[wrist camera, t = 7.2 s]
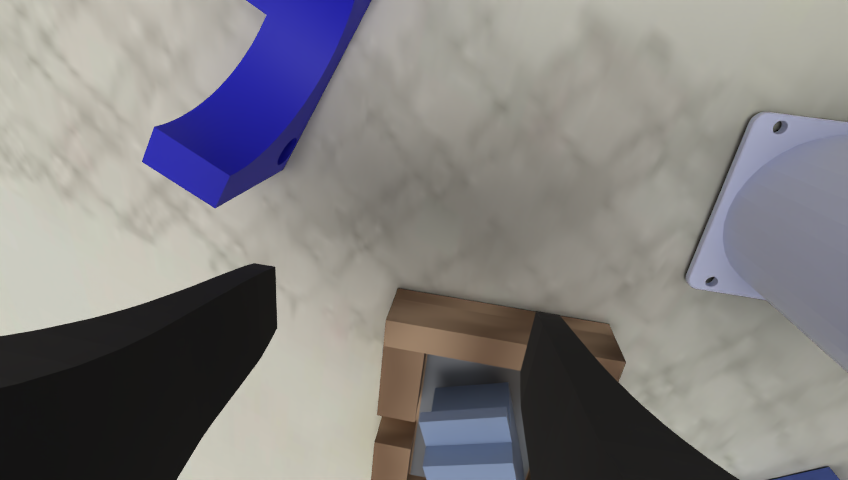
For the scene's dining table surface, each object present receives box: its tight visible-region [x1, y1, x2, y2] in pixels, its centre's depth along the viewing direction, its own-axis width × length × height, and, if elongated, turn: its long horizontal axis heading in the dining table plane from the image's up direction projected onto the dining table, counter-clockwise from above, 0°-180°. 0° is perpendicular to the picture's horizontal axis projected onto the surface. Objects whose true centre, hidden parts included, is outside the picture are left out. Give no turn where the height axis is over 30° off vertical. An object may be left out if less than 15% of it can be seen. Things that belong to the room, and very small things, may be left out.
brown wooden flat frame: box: [371, 288, 626, 480], centre depth 24 cm, size 11×14×3 cm
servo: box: [419, 382, 524, 480], centre depth 22 cm, size 4×9×6 cm, turn 12°
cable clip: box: [142, 0, 371, 208], centre depth 16 cm, size 12×4×6 cm, turn 146°
